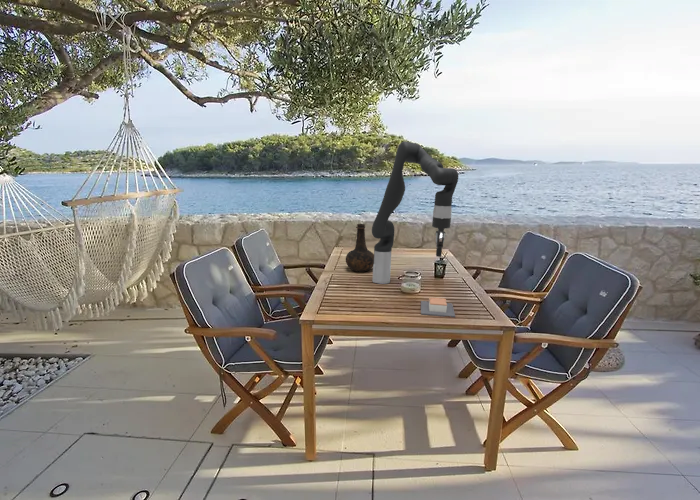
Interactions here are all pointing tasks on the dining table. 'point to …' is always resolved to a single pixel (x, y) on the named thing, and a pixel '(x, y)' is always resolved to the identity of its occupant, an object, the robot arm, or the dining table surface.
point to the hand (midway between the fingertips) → (438, 256)
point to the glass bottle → (360, 253)
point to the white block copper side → (437, 304)
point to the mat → (426, 312)
